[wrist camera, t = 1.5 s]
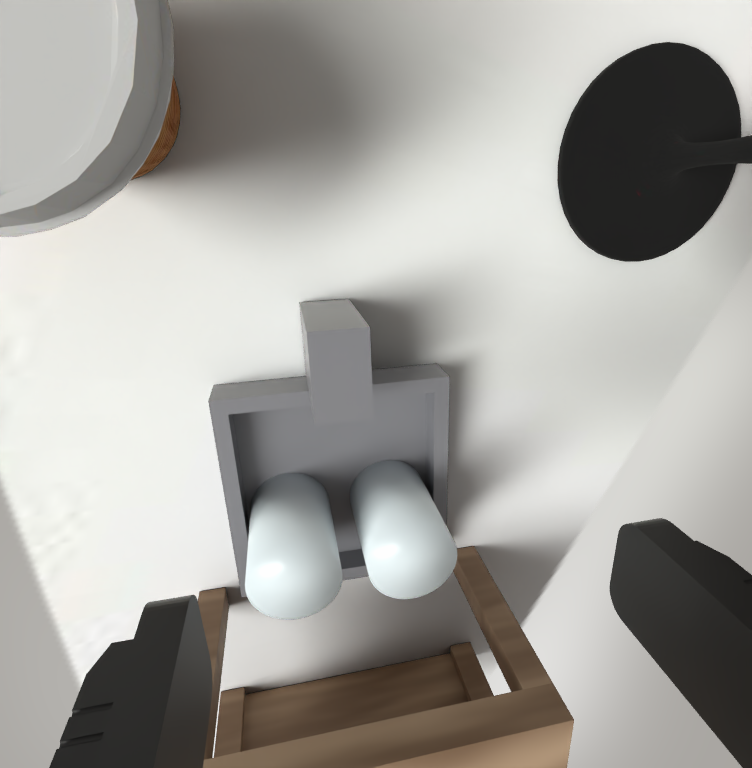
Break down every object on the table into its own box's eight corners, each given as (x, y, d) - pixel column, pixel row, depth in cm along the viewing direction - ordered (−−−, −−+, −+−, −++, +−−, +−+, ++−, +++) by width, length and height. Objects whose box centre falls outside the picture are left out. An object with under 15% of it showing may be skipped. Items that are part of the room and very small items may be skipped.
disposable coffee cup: (258, 171, 22) (242, 144, 11) (61, 253, 22) (-153, 307, 11) (145, -84, 19) (-42, -494, 8) (-94, 10, 18) (-652, -277, 7)
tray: (201, 307, 24) (175, 346, 18) (435, 290, 26) (488, 320, 20) (244, 566, 30) (235, 667, 24) (433, 537, 32) (473, 622, 26)
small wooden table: (199, 591, 30) (156, 818, 19) (473, 546, 32) (573, 719, 22) (224, 707, 33) (200, 954, 22) (469, 657, 36) (553, 854, 25)
